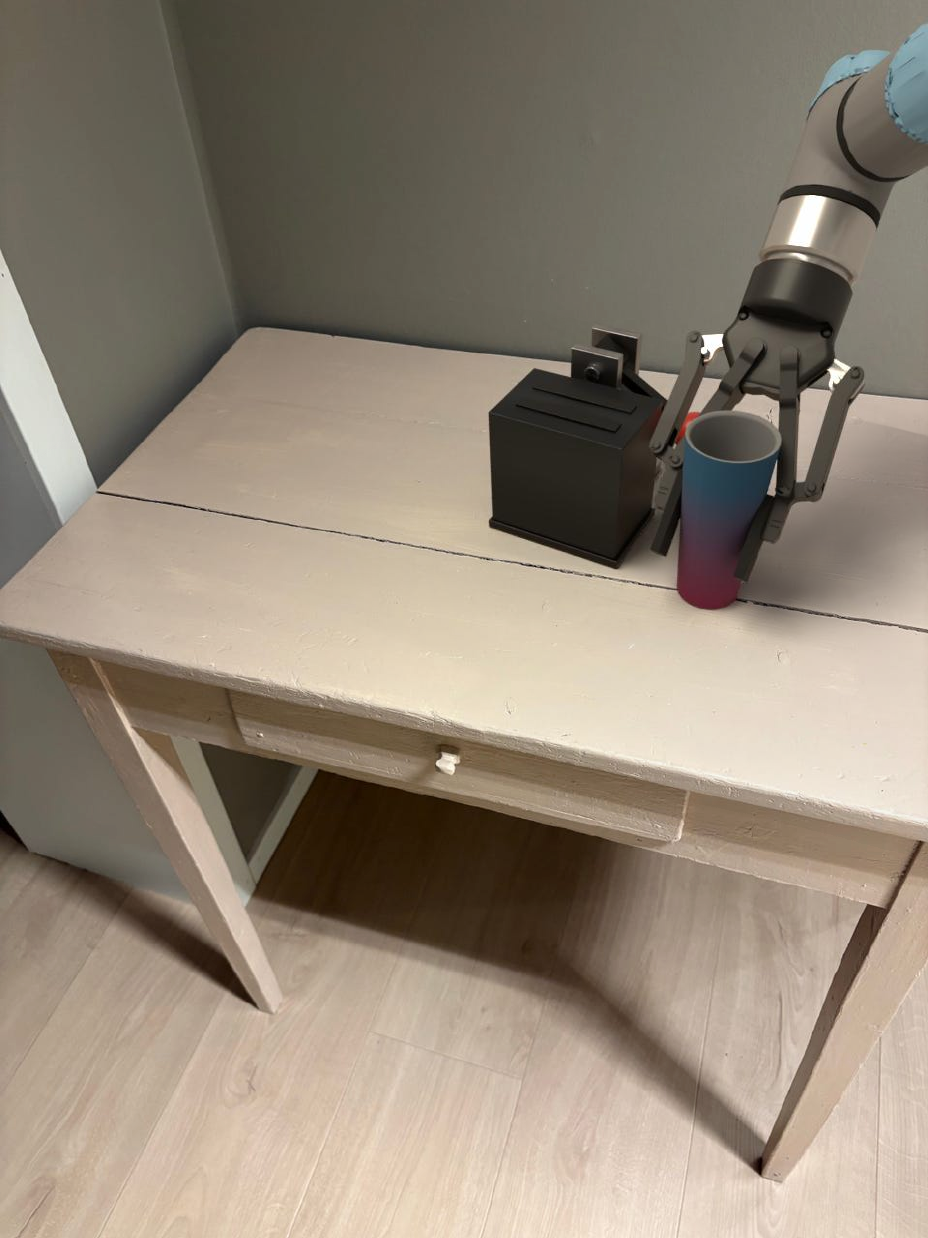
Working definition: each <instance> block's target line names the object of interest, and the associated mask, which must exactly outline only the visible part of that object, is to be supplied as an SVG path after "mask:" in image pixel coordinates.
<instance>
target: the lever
mask: <svg viewBox="0 0 928 1238" xmlns="http://www.w3.org/2000/svg"><path fill="white" fill-rule="evenodd" d="M594 347H595V348H600V349H604V350H608V351H612V352H617V353H621V354H623V364H622V379H621V383H622V384H623V385H624V386H625V387H627V388H628V389H629V390H630V391H631V392H633V393H636V394H640V395H644V396H648V397H652V398H656V399H660V400H663V405H662V413H663V410H664V408H665V406H666V403H667V401H668V398H666V397H664V395H663V394H661V393H660V392H659V391H658V390H656V389H655V388H654V387H653V386H652V385H650V384H649V383H648V382H647V381H645V380H644V379H643V378H642V377H641V376H640V375H639V376H638V375H637V374H636V373H635V372H633V371H632V370H631V369H630V368H629V367H628V366H626V365H625V364H624V363H625V361H626V360H627V359H628V358H629V356H630V354H629V353H627V352H626V351H625V350H624V349H623V348H621V347H620V346H619V345H618V344H617V343H615V342H614V341H613V340H612V339H611V338H610V337H608V336H607V335H605V336H604V337H603V338H602V339H601V340H600V341H599V342H598V343H597V344H596V345H595V346H594ZM700 413H701V411H700V412H699V411H689V412H688V414H687V416H686V419H685V421H684V423H683V426H682V428H681V430H680V433H679V435H678V437H677V440H676V442H675V444H674V445H675V446H676V445H677V444H678V443H679V441H680V440H681V439H682V437H683V436H684V434H685V432H686V428H687V426H688V425H689V423H690V422H692V421H693V420H694V419H695V418H697V417H698V415H699V414H700Z"/></svg>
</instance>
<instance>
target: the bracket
mask: <svg viewBox="0 0 928 1238" xmlns="http://www.w3.org/2000/svg"><path fill="white" fill-rule="evenodd" d="M605 335H607V336H608V337H610V338H611V339H612V340H613V341H614V342H615V343H617V344H618V345H619V346H620V347H621V348H623V349H624V350H625V351H626V352H627V353H629V354H630V356H629V358H628V359H627V360H626V361H625V363H624V364H625V365H626V366H628V367H629V368H630V369H631V370H632V371H633V372H635V373H636V374H637V375H638V376H639V377H640V374H639V373H640V367H641V366H640V365H641V354H642V353H641V352H642V341H643V333H642V332H638V331H633V330H629V329H624V328H621V327H615V326H612V325H611V326H610V325H606V324H601V323H595V324H594V325H593V326H592V327H591V341H590V342H591V343H590V345H587V344H582V343H578V342H576V343H574V345H573V346H572V347H571V350H570V351H571V355H570V377H572V378H576V379H580V380H584V381H588V382H592V383H596V384H600V385H604V386H608V387H612V388H616V389H620V390H624V391H628V392H631V391H630V390H629V389H628V388H627V387H625V386H624V385H623V384H622V383H621V379H622V364H623V354H621V353H617V352H612V351H608V350H604V349H600V348H595V347H594V346H595V345H596V344H597V343H598V342H599V341H600V340H601V339H602V338H603V337H604V336H605ZM632 393H633V392H632ZM661 467H662V461H661V460H660V459H658V458H657V462H656V472H655V477H657V475H658V473H659V472H660V471H661V469H662V468H661Z"/></svg>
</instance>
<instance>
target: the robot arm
mask: <svg viewBox="0 0 928 1238" xmlns="http://www.w3.org/2000/svg"><path fill="white" fill-rule="evenodd" d="M805 121H806V122H805V125H804V128H803V131H802V134H801V137H800V140H799V142H798V145H797V148H796V151H795V154H794V156H793V159H792V162H791V165H790V167H789V171H788V173H787V176H786V179H785V182H784V184H783V188H782V191H781V193H780V196H779V199H778V202H777V205H776V207H775V210H774V213H773V215H772V218H771V221H770V223H769V226H768V229H767V231H766V234H765V237H764V239H763V242H762V245H761V248H760V250H759V252H758V261H759V262H760V263H759V264H757V265H755V266H754V268H753V269H752V272H751V275H750V278H749V281H748V283H747V286H746V289H745V291H744V294H743V297H742V300H741V303H740V305H739V308H738V311H737V314H736V317H735V319H734V320H733V322H732V323H731V324H730V325H729V326H728V327H727V328H726V329H725V330H724V332H723V333H720V334H703V335H702V333H701V332H700V331H698V330H692V331H690V332H689V333H688V334H687V336H686V339H685V354H684V361H683V364H682V365H681V368H680V371H679V372H678V376H677V378H676V380H675V382H674V384H673V387H672V389H671V392H670V394H669V395H668V398H667V400H668V401H667V403H666V406H665V408H664V410H663V413H662V415H661V417H660V420H659V422H658V424H657V427H656V429H655V431H654V434H653V436H652V438H651V441H650V443H649V449H650V451H651V452H652V453H653V454H654V455H655V456H656V457H657V459H660V460H661V462H662V463H664V466H665V469H664V472H663V475H662V478H661V479H660V484H659V487H658V489H657V492H656V495H655V498H654V507H656V508H657V509H658V510H660V511H663V512H662V515H661V517H660V519H659V522H658V525H657V528H656V531H655V533H654V536H653V540H652V542H651V545H650V547H649V550H650V551H652V552H653V553H654V554H657V555H659V556H662V557H665V558H667V556H668V553H669V550H670V548H671V544H672V542H673V539H674V537H675V533H676V531H677V528H678V526H679V524H680V516H681V498H682V480H683V462H684V444H685V434H684V436H683V437H682V439H681V440H680V441H679V443H678V444H677V445H676V444H675V442H676V440H677V437H678V435H679V433H680V430H681V428H682V426H683V423H684V421H685V419H686V416H687V414H688V413H689V412H690V410H691V407H692V405H693V402H694V400H695V398H696V396H697V393H698V390H699V388H700V386H701V384H702V381H703V379H704V377H705V373H706V369H707V366H709V365H711V364H713V363H714V361H715V360H716V357H717V355H718V354H719V353H721V352H724V354H725V358H726V362H727V364H728V368H729V370H728V371H727V372H726V373H725V374H724V376H723V378H722V379H721V381H720V382H719V385H718V387H717V389H716V391H715V392H714V393H713V395H712V396H711V397H710V399H708V402H707V403H706V404H705V405H704V407H703V408H702V409H701V411H700V414H699V415H698V417H699V416H701V415H704V414H706V413H710V412H715V411H733V410H734V408H735V407H736V406H737V405H739V404H740V403H741V402H742V400H744V398H745V396H746V395H751V396H765V397H767V398H769V399H771V400H772V401H775V402H778V428H777V429H778V430H779V432H780V434H781V438H782V443H781V447H780V451H779V454H778V458H777V461H776V476H775V477H776V478H775V487H774V492H775V493H774V495H771V494H768V493H767V494H766V496H765V498H764V500H763V502H762V503H761V505H760V507H759V508H758V510H757V512H756V515H755V517H754V520H753V523H752V526H751V528H750V531H749V534H748V536H747V539H746V542H745V545H744V547H743V550H742V553H741V555H740V558H739V561H738V564H737V566H736V569H735V572H734V574H733V577H735V578H736V579H737V580H739V581H742V582H743V583H746V584H748V583H749V580H750V577H751V575H752V572H753V570H754V566H755V564H756V561H757V559H758V556H759V553H760V551H761V548H762V545H763V543H764V542H766V543H769V544H773V545H775V544H776V543H777V542H778V541H779V539H780V538H781V535H782V532H783V529H784V527H785V524H786V521H787V518H788V516H789V513H790V511H791V509H792V507H793V506H794V505H795V504H797V503H804V502H811V503H816V502H817V503H818V502H819V501H820V500H821V499H822V497H823V495H824V493H825V492H824V491H825V488H826V485H827V482H828V480H829V479H828V478H829V475H830V472H831V470H832V469H831V468H832V465H833V462H834V459H835V455H836V453H837V448H838V445H839V443H840V439H841V436H842V435H841V434H842V432H843V429H844V425H845V423H846V420H847V416H848V412H849V409H850V407H851V406H852V404H853V403H854V402H855V400H856V398H857V397H858V396H859V395H860V393H861V392H862V391H863V389H864V388H865V387H866V386H865V385H866V379H865V370H864V369H863V368H862V367H861V366H858V365H855V366H854V365H853V366H852V367H851V366H849V365H848V364H846V363H844V362H842V361H841V360H839V359H837V358H836V351H835V345H836V341H837V338H838V335H839V334H840V331H841V327H842V325H843V322H844V320H845V317H846V314H847V311H848V309H849V306H850V303H851V301H852V298H853V293H854V292H853V290H852V286H854V285H855V284H856V283H857V282H858V281H859V280H860V276H861V274H862V270H863V268H864V266H865V262H866V260H867V258H868V254H869V251H870V249H871V246H872V243H873V241H874V238H875V234H876V232H877V230H878V227H879V225H880V221H881V218H882V216H883V213H884V211H885V208H886V205H887V203H888V200H889V199H890V196H891V193H892V190H893V188H894V187H895V185H896V184H897V183H898V182H900V181H901V180H902V181H903V180H905V179H907V178H909V177H910V176H912V175H914V174H916V173H917V172H920V171H921V170H923V169H925V168H926V167H928V22H927V23H923V24H921V25H920V26H919V27H918V28H917V29H916V31H914V32H913V33H911V34H910V35H909V36H908V38H907V39H905V41H903V42H902V43H901V44H900V45H899V46H897V47H896V48H895V49H894V50H892V51H891V52H890V51H887V50H881V49H867V50H863V51H861V52H859V53H858V54H857V55H856V54H852V53H851V54H846V55H844V56H843V57H841V58H840V59H838V60H837V61H835V62H834V63H833V64H832V66H830V68H829V69H828V70H827V72H826V73H825V76H824V79H822V82H821V84H820V87H819V89H818V92H817V94H816V96H815V97H814V98H813V100H812V101H811V104H810V106H809V109H808V113H807V115H806V120H805ZM826 375H828V376H829V377H830V379H829V381H828V389H829V392H830V393H831V395H830V398H829V400H828V403H827V407H826V410H825V414H824V417H823V420H822V424H821V427H820V430H819V433H818V437H817V440H816V443H815V446H814V449H813V453H812V456H811V460H810V463H809V467H808V470H807V473H806V475H805V481H798V482H797V478H798V477H797V473H798V450H799V429H800V427H799V426H800V425H799V424H800V415H801V414H800V413H801V396H802V395H801V394H802V393H803V392H804V391H805V390H808V388H810V387H811V386H813V385H814V384H815V383H816V382H818V381H819V380H820V379H822V378H823V377H825V376H826ZM742 582H741V583H742Z"/></svg>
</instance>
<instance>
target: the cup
mask: <svg viewBox="0 0 928 1238" xmlns="http://www.w3.org/2000/svg"><path fill="white" fill-rule="evenodd" d="M781 443H782V438H781V434H780V432H779V430H778V428H777V427H776V426H775V425H774V424H773V422H770V421H769V420H768V419H767V418H764V417H762V416H759V415H757V414H754V413H750V412H746V411H745V412H744V411H742V410H741V411H740V410H732V411H715V412H710V413H706V414H704V415H701V416H699V417H697V418H695V419H694V420H693V421H692V422H690V423H689V425H688V426H687V428H686V432H685V444H684V462H683V480H682V498H681V516H680V520H679V535H678V537H679V538H678V553H677V554H678V555H677V570H676V571H677V573H676V575H677V576H676V591H677V594H678V595H679V597H680V598H681V599H682V600H683V601H684V602H686V603H687V604H688V605H691V606H692V607H696V608H699V609H705V610H719V609H720V610H721V609H723V608H726V607H727V606H730V605H732V604H733V603H734V602H735V601H736V600H737V598H738V596H739V593H740V589H741V586H742V581H739V580H737V579H736V578H735V577H733V574H734V572H735V569H736V566H737V564H738V561H739V558H740V555H741V553H742V550H743V547H744V545H745V542H746V539H747V536H748V534H749V531H750V528H751V526H752V523H753V520H754V517H755V515H756V512H757V510H758V508H759V507H760V505H761V503H762V502H763V500H764V498H765V496H766V494H768V492H769V488H770V485H771V481H772V478H773V475H774V471H775V468H776V466H777V458H778V454H779V451H780V447H781Z"/></svg>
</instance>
